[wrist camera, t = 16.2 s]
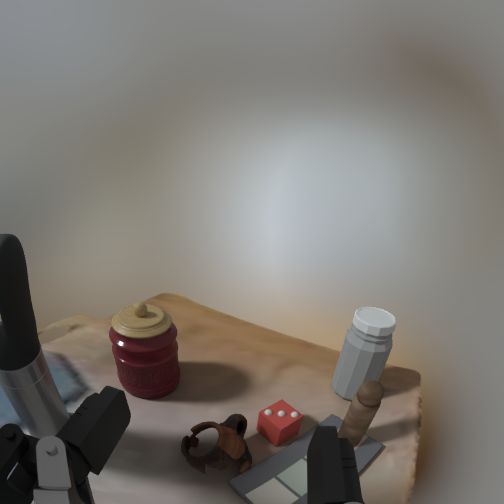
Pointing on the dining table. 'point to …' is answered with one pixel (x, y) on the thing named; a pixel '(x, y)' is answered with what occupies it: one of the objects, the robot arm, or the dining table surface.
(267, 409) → the red die
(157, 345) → the canister
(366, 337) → the jar
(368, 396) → the walnut pawn
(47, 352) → the dining table surface
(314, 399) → the dining table surface
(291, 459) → the game board
